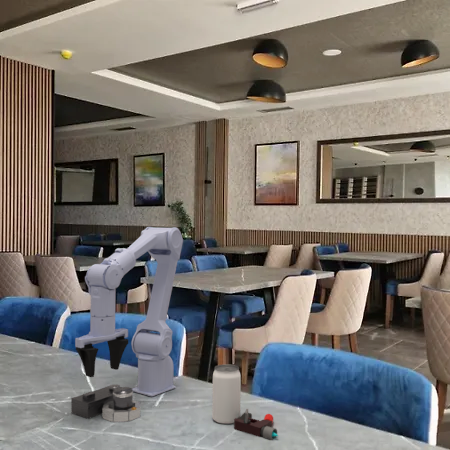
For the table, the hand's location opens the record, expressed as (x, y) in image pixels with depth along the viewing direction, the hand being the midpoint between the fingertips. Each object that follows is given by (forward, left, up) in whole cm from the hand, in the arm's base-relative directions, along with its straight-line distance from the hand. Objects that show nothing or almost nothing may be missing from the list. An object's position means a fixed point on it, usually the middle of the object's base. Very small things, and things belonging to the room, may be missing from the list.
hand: (102, 372), depth 127 cm
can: (-15, +25, -10) cm, 31 cm away
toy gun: (-16, +35, -10) cm, 40 cm away
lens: (-2, +5, -10) cm, 11 cm away
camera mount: (-2, +1, -10) cm, 10 cm away
